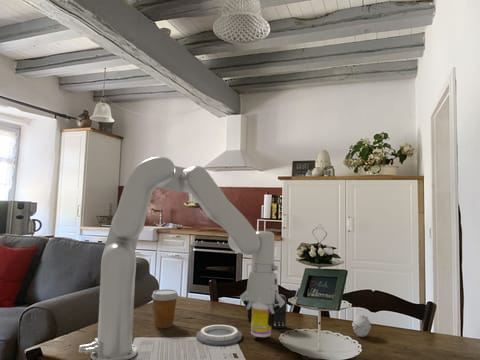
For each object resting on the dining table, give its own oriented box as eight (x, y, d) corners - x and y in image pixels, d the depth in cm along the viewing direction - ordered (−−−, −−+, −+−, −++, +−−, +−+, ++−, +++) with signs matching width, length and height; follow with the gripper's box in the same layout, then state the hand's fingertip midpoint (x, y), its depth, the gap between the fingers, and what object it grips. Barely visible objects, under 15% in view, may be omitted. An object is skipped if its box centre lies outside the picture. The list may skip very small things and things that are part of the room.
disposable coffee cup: (182, 326, 128) (183, 292, 129) (158, 331, 122) (159, 295, 123) (168, 320, 135) (169, 288, 137) (145, 324, 129) (147, 291, 130)
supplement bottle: (269, 338, 113) (270, 297, 115) (249, 336, 115) (250, 295, 116) (272, 332, 120) (273, 293, 121) (252, 330, 121) (253, 291, 122)
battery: (267, 329, 126) (267, 296, 128) (266, 325, 130) (267, 293, 131) (287, 329, 126) (287, 296, 127) (285, 326, 130) (286, 294, 131)
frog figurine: (373, 335, 122) (372, 314, 122) (368, 341, 116) (368, 319, 117) (355, 331, 125) (354, 311, 126) (349, 337, 119) (349, 315, 120)
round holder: (210, 349, 107) (210, 341, 107) (188, 334, 119) (188, 327, 120) (250, 339, 115) (250, 332, 115) (226, 327, 128) (226, 321, 128)
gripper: (290, 269, 119) (289, 324, 117) (244, 264, 127) (242, 316, 125) (283, 272, 112) (282, 330, 110) (234, 267, 120) (232, 321, 118)
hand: (261, 322), depth 118 cm, fingers closed on supplement bottle, 6 cm apart
